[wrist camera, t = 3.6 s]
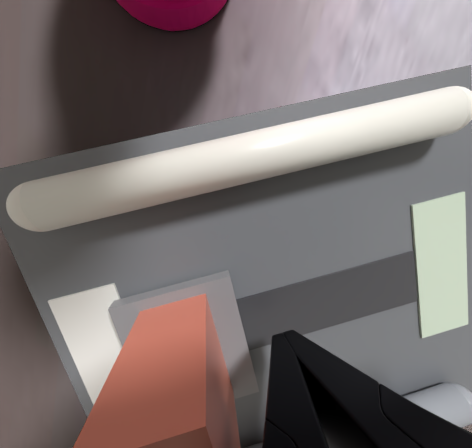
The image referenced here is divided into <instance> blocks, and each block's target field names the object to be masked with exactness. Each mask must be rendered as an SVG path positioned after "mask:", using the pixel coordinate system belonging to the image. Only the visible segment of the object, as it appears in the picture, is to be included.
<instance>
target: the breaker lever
mask: <svg viewBox="0 0 472 448" xmlns="http://www.w3.org/2000/svg"><path fill="white" fill-rule="evenodd" d="M108 311H109V314H110V316H111V319H112V321H113V324H114V327H115V329H116V332H117V334H118V337H119V340H120V342H121V345H122V349H121V351H120V353H119V355H118V357H117V359H116V361H115V363H114V365H113V367H112V369H111V371H110V373H109V375H108V377H107V379H106V381H105V383H104V385H103V387H102V389H101V391H100V394H99V396H98V398H97V400H96V402H95V404H94V406H93V408H92V410H91V412H90V414H89V416H88V418H87V420H86V422H85V424H84V426H83V428H82V430H81V432H80V434H79V436H78V438H77V440H76V442H75V444H74V446H73V448H241V447H240V439H239V431H238V423H237V416H236V408H235V400H234V399H237V398H240V397H243V396H247V395H250V394H253V393H256V392H259V389H258V385H257V381H256V377H255V373H254V369H253V365H252V361H251V357H250V353H249V349H248V345H247V341H246V337H245V333H244V329H243V325H242V322H241V318H240V314H239V310H238V306H237V302H236V298H235V294H234V290H233V286H232V282H231V278H230V274H229V270H227V271H223V272H219V273H215V274H212V275H208V276H204V277H200V278H197V279H193V280H189V281H185V282H182V283H178V284H174V285H171V286H167V287H163V288H159V289H156V290H152V291H148V292H144V293H141V294H137V295H133V296H129V297H126V298H122V299H118V300H114V301H113V303H112V304H111V305H110V307H109V308H108Z"/></svg>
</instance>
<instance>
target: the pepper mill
mask: <svg viewBox="0 0 472 448" xmlns="http://www.w3.org/2000/svg"><path fill="white" fill-rule="evenodd" d="M116 1H117V2H118V3H119V4H120V5H121V6H122V7H123V8H124V9H125V10H126V11H127V12H128V13H130V14H131V15H132V16H133V17H135V18H136V19H138V20H139V21H141V22H143V23H145V24H147V25H149V26H152V27H156V28H159V29H162V30H168V31H179V30H188V29H192V28H195V27H197V26H200V25H202V24H204V23H206V22H207V21H209V20H210V19H212V18H213V17H214V16H215V15H216V14H217V13H218V12H219V11H220V10H221V9H222V7H223V6H224V4H225V3H226V1H227V0H116Z"/></svg>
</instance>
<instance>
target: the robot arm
mask: <svg viewBox="0 0 472 448" xmlns="http://www.w3.org/2000/svg"><path fill="white" fill-rule="evenodd" d="M262 448H472V433H471V432H469V431H467V430H465V429H463V428H461V427H459V426H457V425H455V424H453V423H451V422H449V421H447V420H445V419H443V418H441V417H439V416H437V415H436V414H434V413H432V412H430V411H428V410H426V409H424V408H422V407H420V406H419V405H417V404H415V403H413V402H411V401H410V400H408V399H406V398H405V397H403V396H401V395H399V394H398V393H396V392H394V391H393V390H391V389H389V388H388V387H386V386H384V385H383V384H379V382H378V381H376V380H374V379H373V378H371V377H370V376H368V375H366V374H365V373H363V372H361V371H360V370H358V369H357V368H355V367H353V366H352V365H350V364H348V363H347V362H345V361H343V360H342V359H340V358H339V357H337V356H335V355H334V354H332V353H330V352H329V351H327V350H326V349H324V348H322V347H321V346H319V345H317V344H316V343H314V342H313V341H311V340H309V339H308V338H306V337H304V336H303V335H301V334H300V333H298V332H296V331H295V330H289V331H285V332H283V333H279V334H275V335H273V336H272V342H271V354H270V366H269V378H268V389H267V401H266V413H265V423H264V435H263V443H262Z"/></svg>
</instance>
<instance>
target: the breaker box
mask: <svg viewBox="0 0 472 448" xmlns="http://www.w3.org/2000/svg"><path fill="white" fill-rule="evenodd" d="M0 227H1V229H2V231H3V233H4V236H5V238H6V240H7V242H8V244H9V247H10V249H11V251H12V253H13V255H14V258H15V260H16V262H17V264H18V266H19V269H20V271H21V273H22V275H23V277H24V280H25V282H26V284H27V286H28V288H29V291H30V293H31V295H32V297H33V299H34V302H35V304H36V306H37V308H38V310H39V313H40V315H41V317H42V319H43V321H44V324H45V326H46V328H47V330H48V332H49V335H50V337H51V339H52V341H53V343H54V346H55V348H56V350H57V352H58V354H59V357H60V359H61V361H62V363H63V365H64V368H65V370H66V372H67V374H68V376H69V379H70V381H71V383H72V385H73V387H74V390H75V392H76V394H77V396H78V398H79V401H80V403H81V405H82V407H83V409H84V412H85V414H86V416H87V418H88V416H89V414H90V412H91V410H92V408H93V406H94V404H95V402H96V400H97V398H98V396H99V394H100V391H101V389H102V387H103V385H104V383H105V381H106V379H107V377H108V375H109V373H110V371H111V369H112V367H113V365H114V363H115V361H116V359H117V357H118V355H119V353H120V351H121V349H122V345H121V342H120V340H119V337H118V334H117V332H116V329H115V327H114V324H113V321H112V319H111V316H110V314H109V311H108V308H109V307H110V305H111V304H112V303H113V301H114V300H118V299H122V298H126V297H129V296H133V295H137V294H141V293H144V292H148V291H152V290H156V289H159V288H163V287H167V286H171V285H174V284H178V283H182V282H185V281H189V280H193V279H197V278H200V277H204V276H208V275H212V274H215V273H219V272H223V271H227V270H229V274H230V278H231V282H232V286H233V290H234V294H235V298H236V302H237V306H238V310H239V314H240V318H241V322H242V325H243V329H244V333H245V337H246V341H247V345H248V349H249V353H250V357H251V361H252V365H253V369H254V373H255V377H256V381H257V385H258V389H259V392H256V393H253V394H250V395H247V396H243V397H240V398H237V399H234V400H235V408H236V416H237V423H238V431H239V439H240V447H241V448H262V443H263V435H264V423H265V413H266V401H267V389H268V378H269V366H270V354H271V342H272V336H273V335H275V334H279V333H283V332H285V331H289V330H295V331H296V332H298V333H300V334H301V335H303V336H304V337H306V338H308V339H309V340H311V341H313V342H314V343H316V344H317V345H319V346H321V347H322V348H324V349H326V350H327V351H329V352H330V353H332V354H334V355H335V356H337V357H339V358H340V359H342V360H343V361H345V362H347V363H348V364H350V365H352V366H353V367H355V368H357V369H358V370H360V371H361V372H363V373H365V374H366V375H368V376H370V377H371V378H373V379H374V380H376V381H378V382H379V384H383V385H384V386H386V387H388V388H389V389H391V390H393V391H394V392H396V393H398V394H399V395H401V396H403V397H405V398H406V399H408V400H410V401H411V402H413V403H415V404H417V405H419V406H420V407H422V408H424V409H426V410H428V411H430V412H432V413H434V414H436V415H437V416H439V417H441V418H443V419H445V420H447V421H449V422H451V423H453V424H455V425H457V426H459V427H461V428H462V427H465V426H468V425H471V424H472V86H471V65H469V66H464V67H460V68H455V69H451V70H446V71H441V72H437V73H432V74H428V75H423V76H419V77H414V78H410V79H405V80H400V81H396V82H391V83H387V84H382V85H378V86H373V87H369V88H364V89H359V90H355V91H350V92H346V93H341V94H337V95H332V96H328V97H323V98H318V99H314V100H309V101H305V102H300V103H296V104H291V105H287V106H282V107H277V108H273V109H268V110H264V111H259V112H255V113H250V114H246V115H241V116H236V117H232V118H227V119H223V120H218V121H214V122H209V123H205V124H200V125H195V126H191V127H186V128H182V129H177V130H173V131H168V132H164V133H159V134H154V135H150V136H145V137H141V138H136V139H132V140H127V141H123V142H118V143H113V144H109V145H104V146H100V147H95V148H91V149H86V150H82V151H77V152H72V153H68V154H63V155H59V156H54V157H50V158H45V159H41V160H36V161H31V162H27V163H22V164H18V165H13V166H9V167H4V168H0Z"/></svg>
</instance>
